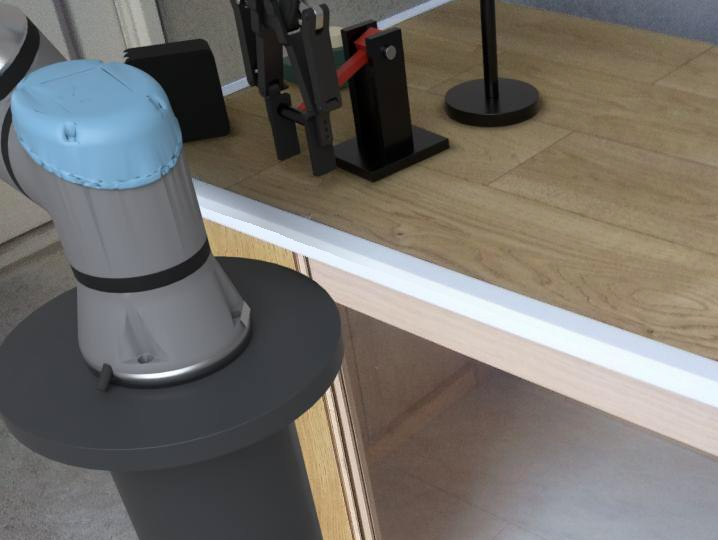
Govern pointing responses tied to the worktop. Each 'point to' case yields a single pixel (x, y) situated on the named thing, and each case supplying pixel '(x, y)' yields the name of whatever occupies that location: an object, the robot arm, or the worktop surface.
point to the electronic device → (186, 85)
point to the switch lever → (342, 74)
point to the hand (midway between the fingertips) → (307, 163)
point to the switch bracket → (382, 110)
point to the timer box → (339, 61)
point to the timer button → (335, 36)
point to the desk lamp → (491, 87)
